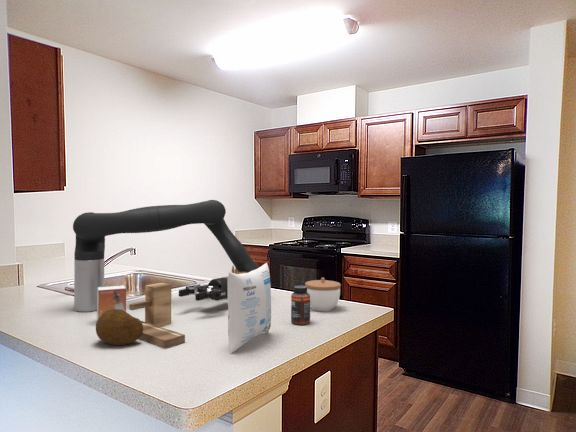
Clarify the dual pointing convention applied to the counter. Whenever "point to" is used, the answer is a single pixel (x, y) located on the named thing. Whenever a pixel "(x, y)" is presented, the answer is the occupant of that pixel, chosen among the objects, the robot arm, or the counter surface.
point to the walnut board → (161, 336)
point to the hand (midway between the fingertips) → (187, 295)
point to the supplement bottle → (300, 306)
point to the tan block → (156, 304)
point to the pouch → (248, 305)
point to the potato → (118, 327)
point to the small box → (110, 299)
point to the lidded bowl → (323, 294)
